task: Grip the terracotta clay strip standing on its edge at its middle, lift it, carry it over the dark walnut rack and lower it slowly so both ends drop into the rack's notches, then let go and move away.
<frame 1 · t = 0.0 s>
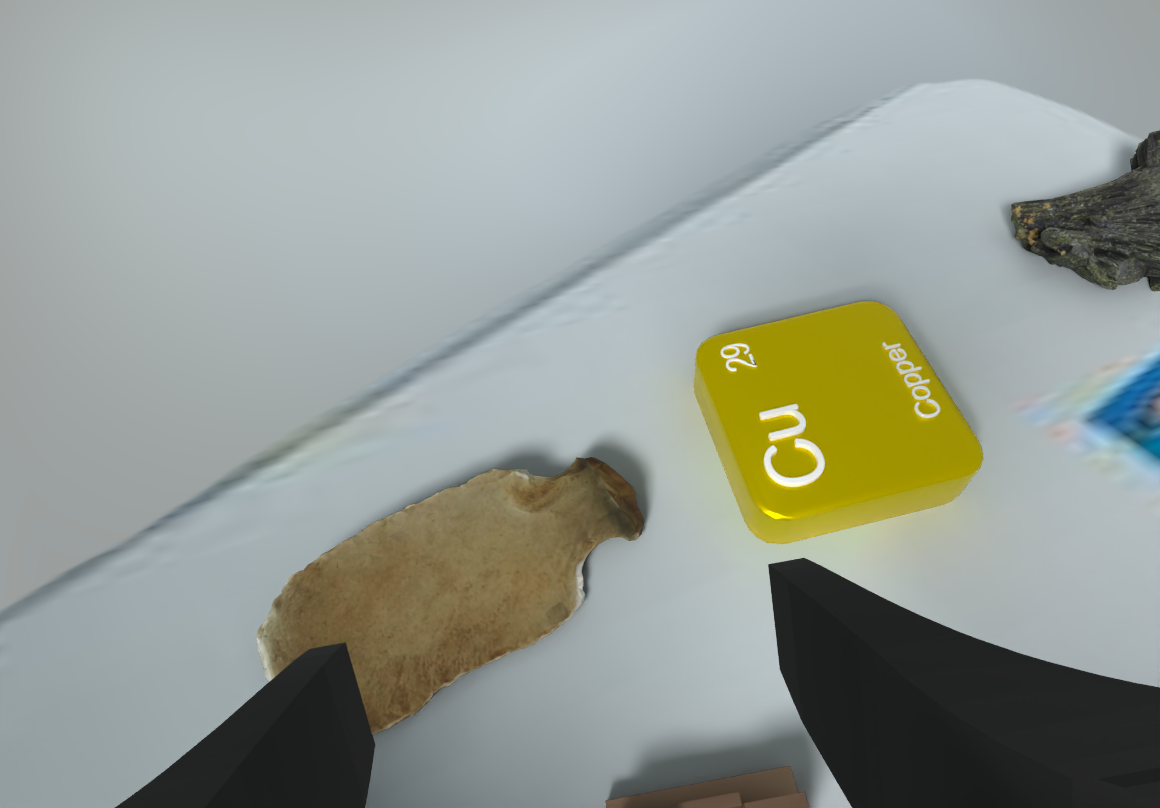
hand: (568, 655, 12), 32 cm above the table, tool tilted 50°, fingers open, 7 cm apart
element tile: (818, 434, 51), on the table
stone tool: (466, 592, 47), on the table
mineral specimen: (1104, 247, 58), on the table
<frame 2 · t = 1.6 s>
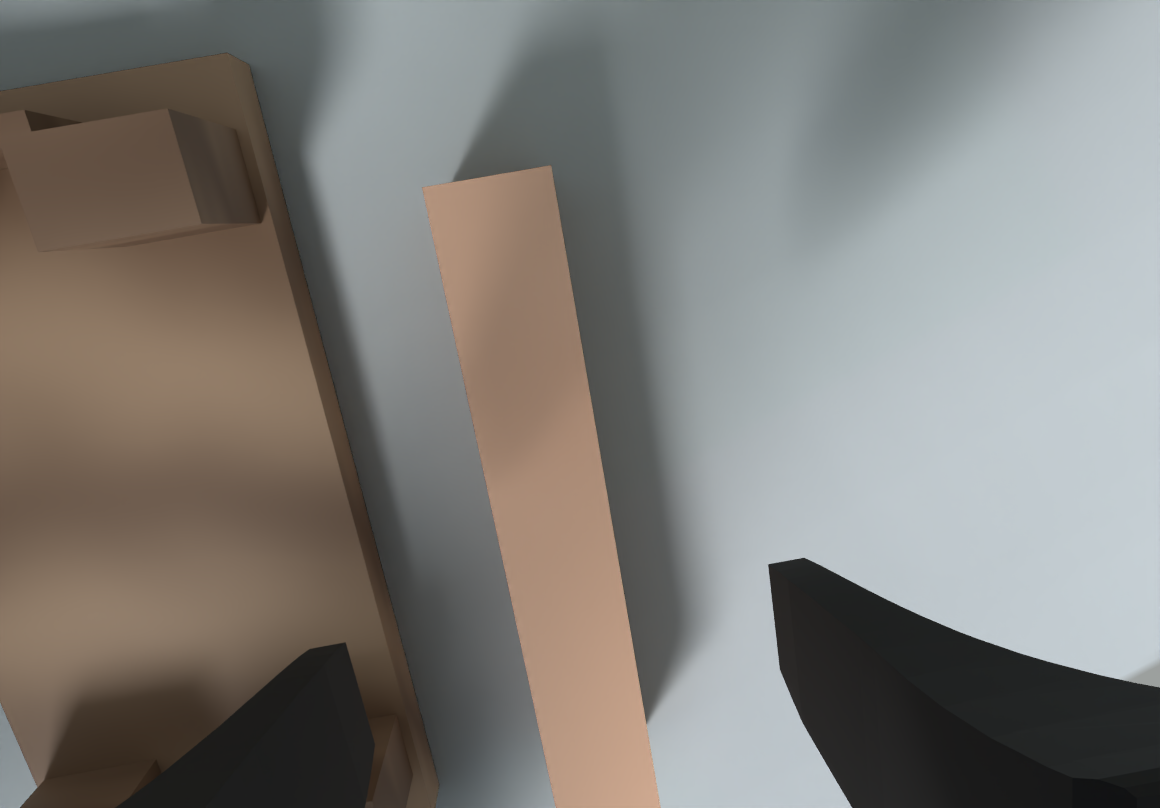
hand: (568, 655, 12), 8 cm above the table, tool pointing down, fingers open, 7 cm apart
clay strip: (554, 487, 20), on the table
strip rack: (167, 507, 19), on the table
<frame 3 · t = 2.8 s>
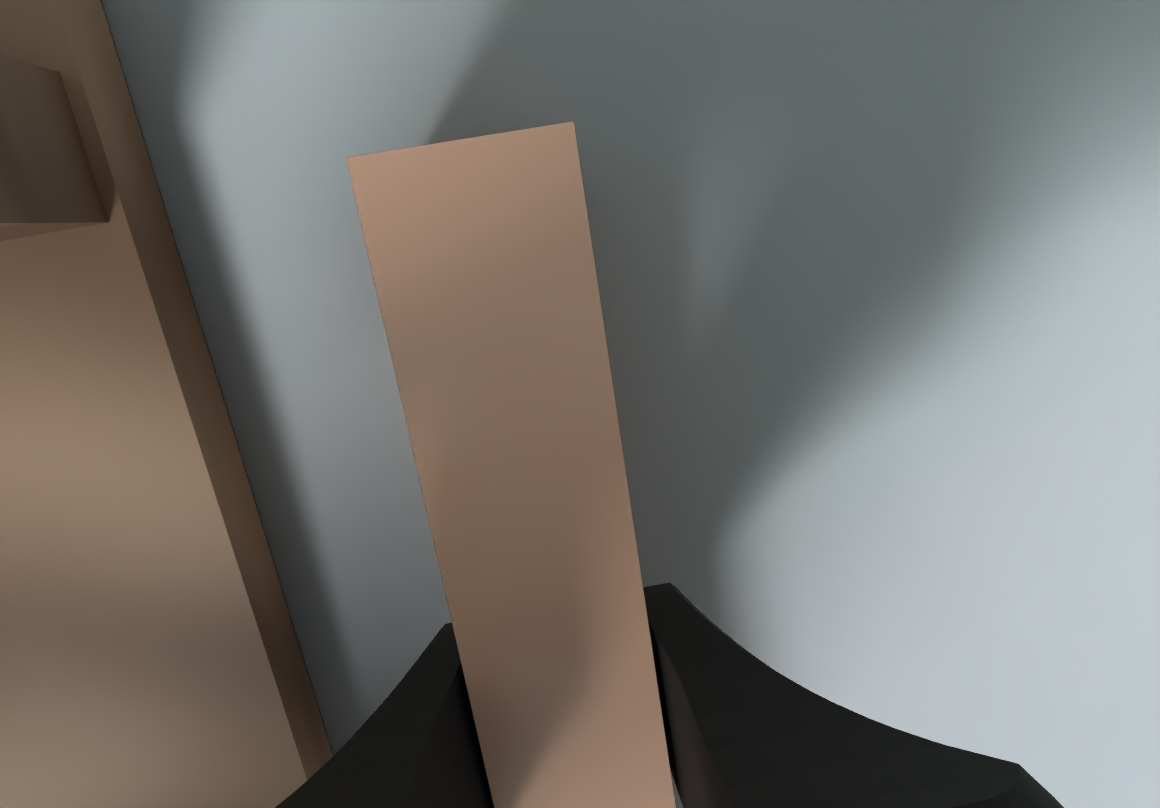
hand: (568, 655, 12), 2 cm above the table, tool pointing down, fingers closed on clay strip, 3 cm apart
clay strip: (564, 601, 14), on the table, touching gripper
strip rack: (5, 632, 13), on the table
when the fingers open (4 cm above the table, at t = 6.6 s): clay strip stays where it is, resting on strip rack.
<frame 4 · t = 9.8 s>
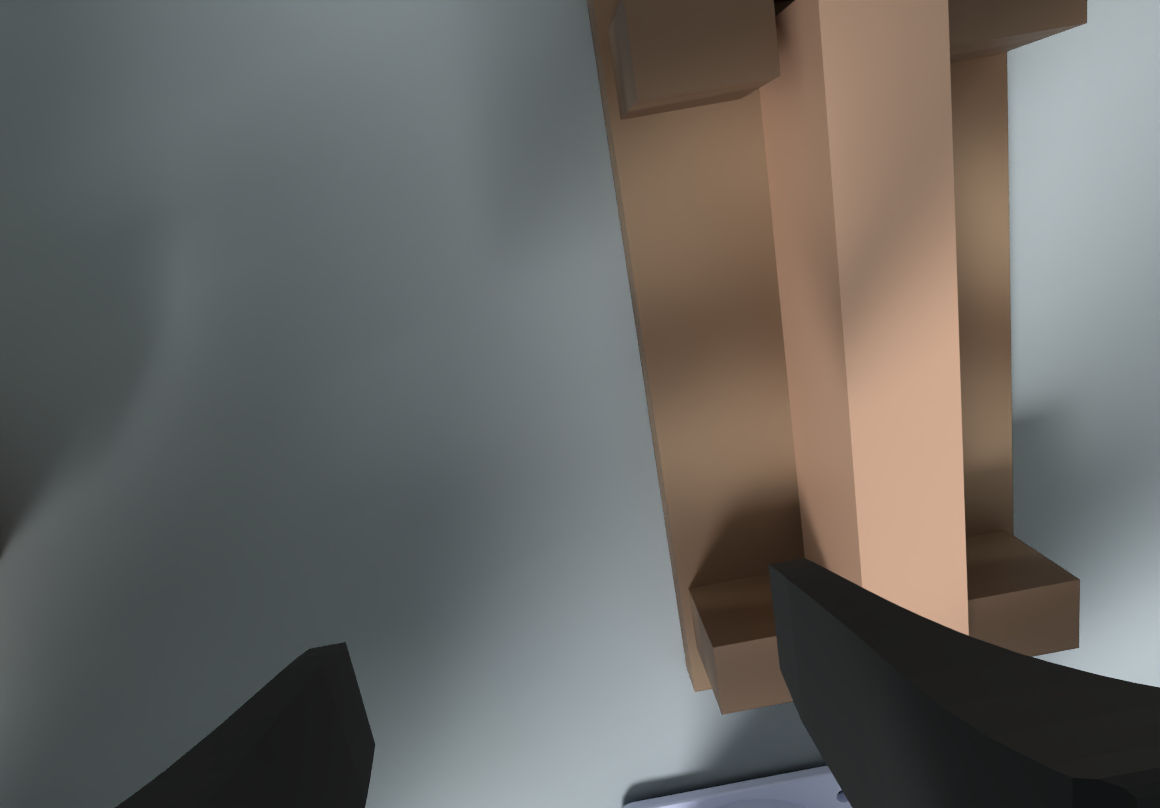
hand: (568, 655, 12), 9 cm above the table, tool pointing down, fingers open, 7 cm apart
clay strip: (830, 347, 19), point 1 cm above the table, touching strip rack
strip rack: (813, 336, 21), on the table
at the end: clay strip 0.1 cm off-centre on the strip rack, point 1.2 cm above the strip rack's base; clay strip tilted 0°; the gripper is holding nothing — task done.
